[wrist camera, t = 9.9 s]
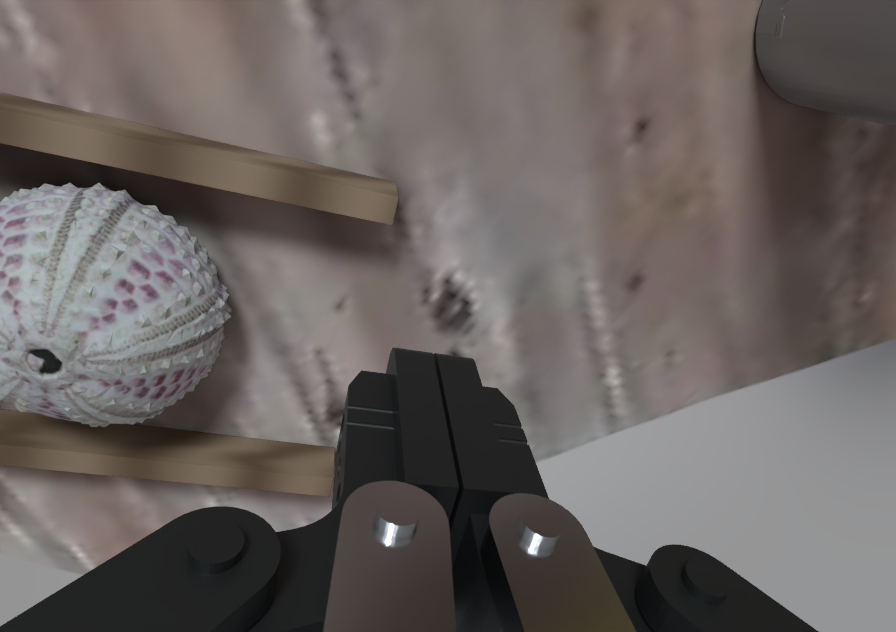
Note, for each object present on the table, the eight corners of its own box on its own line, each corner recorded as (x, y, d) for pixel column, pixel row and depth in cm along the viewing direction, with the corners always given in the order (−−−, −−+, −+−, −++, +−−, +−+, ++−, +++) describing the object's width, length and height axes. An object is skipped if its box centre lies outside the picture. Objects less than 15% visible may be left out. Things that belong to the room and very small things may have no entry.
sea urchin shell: (285, 313, 35) (267, 389, 28) (109, 426, 37) (52, 524, 30) (111, 117, 29) (34, 151, 22) (-87, 264, 31) (-217, 338, 24)
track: (395, 182, 33) (403, 215, 27) (330, 465, 41) (327, 532, 35) (-152, 57, 27) (-277, 69, 21) (-99, 418, 35) (-180, 491, 29)
